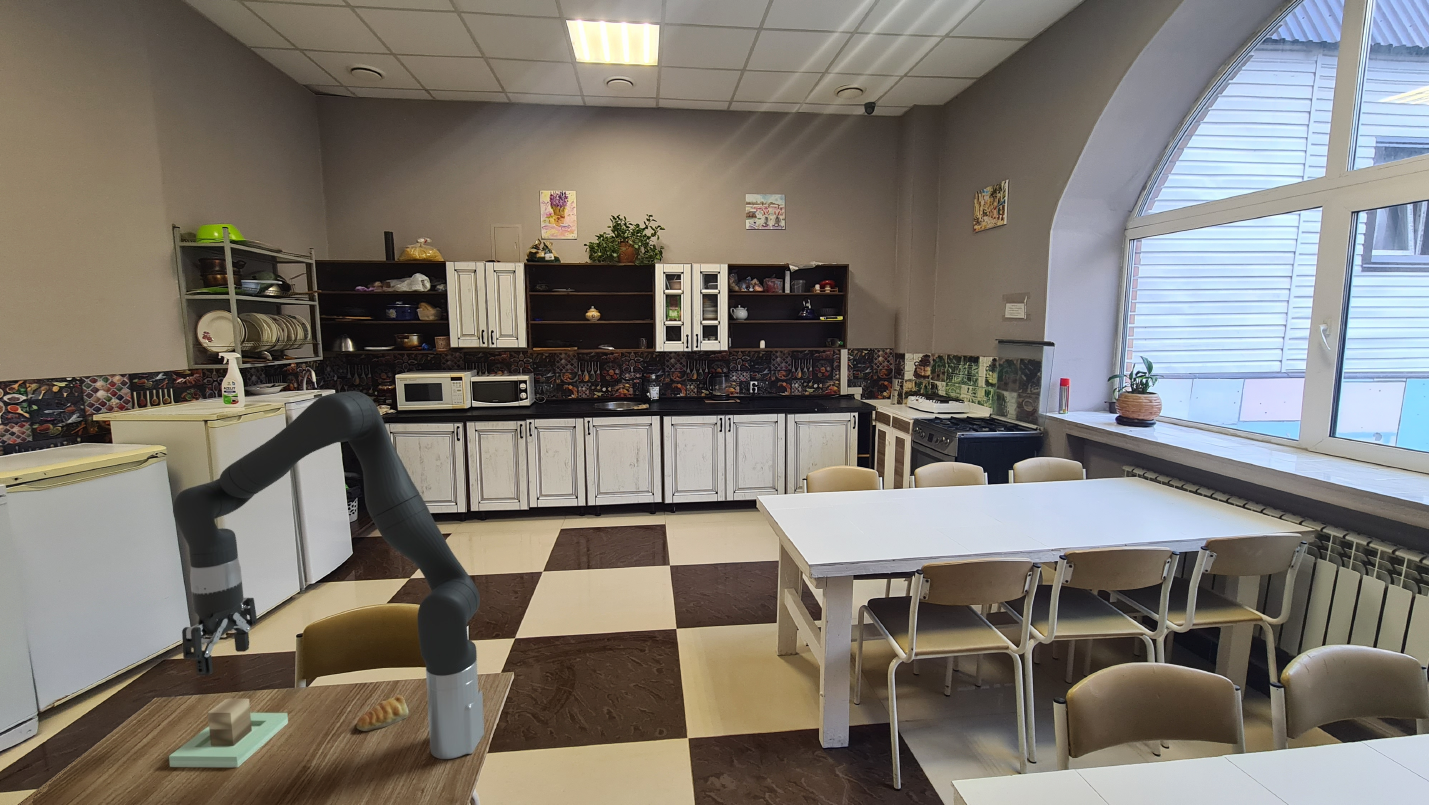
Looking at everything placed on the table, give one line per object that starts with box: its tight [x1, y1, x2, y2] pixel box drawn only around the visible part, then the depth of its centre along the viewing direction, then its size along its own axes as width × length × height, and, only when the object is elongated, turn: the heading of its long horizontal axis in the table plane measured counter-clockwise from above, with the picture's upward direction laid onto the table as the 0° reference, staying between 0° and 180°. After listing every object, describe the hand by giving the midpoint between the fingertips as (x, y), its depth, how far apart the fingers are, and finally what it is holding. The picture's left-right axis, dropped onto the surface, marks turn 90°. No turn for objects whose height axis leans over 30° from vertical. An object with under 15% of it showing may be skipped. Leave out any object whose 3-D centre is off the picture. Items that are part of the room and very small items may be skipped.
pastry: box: [356, 694, 409, 732], centre depth 124 cm, size 9×7×4 cm
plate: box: [168, 712, 289, 768], centre depth 117 cm, size 13×13×2 cm
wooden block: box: [207, 698, 252, 746], centre depth 116 cm, size 4×4×7 cm
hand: (224, 662), depth 115 cm, fingers open, 8 cm apart
